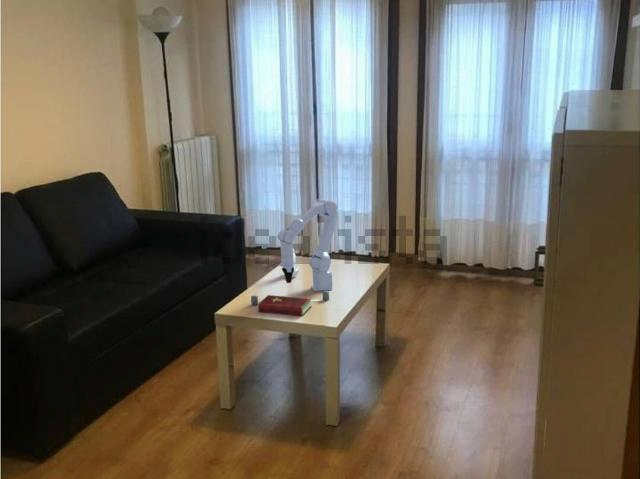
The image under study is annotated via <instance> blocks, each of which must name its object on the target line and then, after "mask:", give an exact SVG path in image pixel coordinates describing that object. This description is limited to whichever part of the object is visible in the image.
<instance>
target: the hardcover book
mask: <svg viewBox="0 0 640 479" xmlns="http://www.w3.org/2000/svg"><path fill="white" fill-rule="evenodd" d="M310 300H312V298H309V297H308V298H306V297H297V296H296V297H294V296H283V295H274V294H273V295H271V294H268V295H266V296H265V297H264V298H263V299H261V301H260V302H259V301H258V305H257V312H258V313H265V314H266V313H267V314H277V315H288V316H289V315H290V316H298V317H304V316H305V315H306V313H307V312H308V311H309V310H310V309H311V308H312V305H311V302H310Z"/></svg>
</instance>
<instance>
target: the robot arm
mask: <svg viewBox="0 0 640 479" xmlns="http://www.w3.org/2000/svg"><path fill="white" fill-rule="evenodd" d="M338 208H339V207H338V205H337V203H336V201H334V200H331V199H326V198H323V197H319V198H318V199H316V201H314V202H313V204H312V206H311V207H310V208H309V209H307V211H306V212H305V213H304V214H303V215H302V216H301V217H300V218H295V219H293V220H292V222H291V223H290V224H289V225H287V226H285V228H283V229H281V230H280V231H279V232H278V235H277V239H278V240H279V242H280V256H281V260H280V261H281V263H279V264H278V265H279V267H281V270H282V272H283V275H284V279H285V282H286V284H292V279H293V277H292V274H293V272H294V267H295V263H294V258H293V248H294V243H293V242H294V241H295V240H296V237H297V235H299V234H300V233H301V232H302V231H303V230H304V229H305V227H306V226H305V225H306V224H307V223H308V222H309V221H310V220H312V219H313V218H314V217H316V216H317V215H322V216H323V217H324V223H323V226H322V230H321V234H320V238H319V242H318V246H317V250H316V251H314V252H313V254H312V256H311V257H310V259H309V263H308V264H309V266H310V267H311V270H312V284H311V289H312V291H313V292H319V291H332V290H333V274H332V270H331V269H330V266H331V263H330V262H331V257H330V254H329V250H330V247H331V243H332V240H333V236H334V232H335V228H336V225H337V221H338ZM293 266H294V267H293Z"/></svg>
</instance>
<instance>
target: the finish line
mask: <svg viewBox="0 0 640 479" xmlns="http://www.w3.org/2000/svg"><path fill="white" fill-rule="evenodd" d="M321 291H322V298H321V299H320V298H319V299H311V300H310V303H311V302H325V301H326V302H328V301H330V290H321ZM258 298H259V297H258V295H251V296H250V302H251V303H250V304H251V306H252V305H253V306H252V307H258V303H259V301H258V300H259V299H258Z"/></svg>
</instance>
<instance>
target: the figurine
mask: <svg viewBox="0 0 640 479" xmlns="http://www.w3.org/2000/svg"><path fill="white" fill-rule="evenodd" d="M293 258H294V264H295V263H296V261H297V260H296V253H295V249H294V247H293ZM293 267H294V272H293V274H292V278H296V277H297V276H298V274H299V272H300V270H301V267H296V266H295V265H294V266H293Z"/></svg>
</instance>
